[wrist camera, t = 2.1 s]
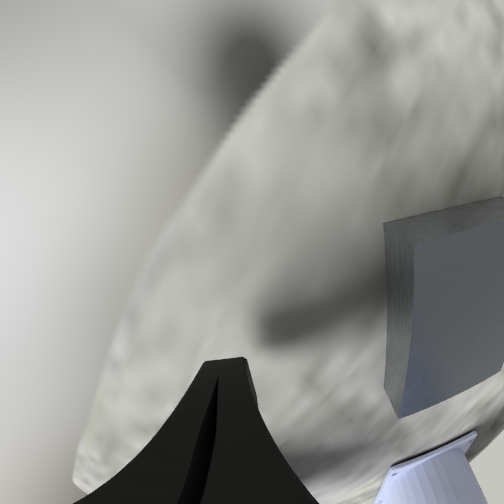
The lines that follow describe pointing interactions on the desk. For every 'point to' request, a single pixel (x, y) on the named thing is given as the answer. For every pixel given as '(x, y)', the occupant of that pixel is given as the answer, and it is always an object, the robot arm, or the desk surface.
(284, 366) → the desk surface
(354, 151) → the desk surface
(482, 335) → the steel plate
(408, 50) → the desk surface
